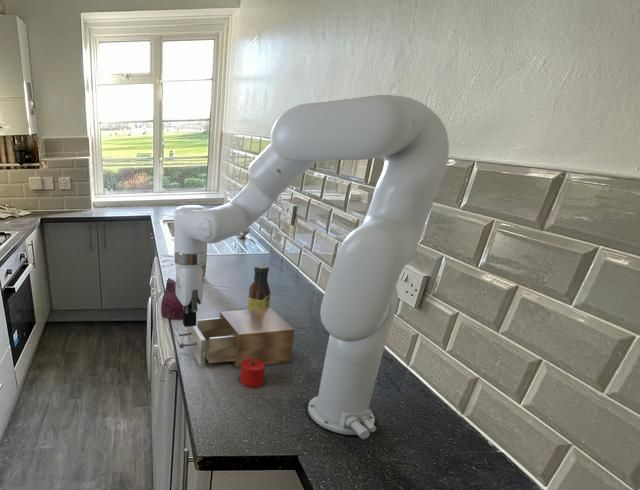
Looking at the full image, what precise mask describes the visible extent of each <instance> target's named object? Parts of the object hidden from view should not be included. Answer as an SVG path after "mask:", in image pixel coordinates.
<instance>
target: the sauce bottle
mask: <svg viewBox="0 0 640 490" xmlns="http://www.w3.org/2000/svg"><path fill="white" fill-rule="evenodd" d="M253 271H254V277H253V282H252V283H251V284H250V286H249V290H248V297H247V309H258V308H269V307H270V304H271V303H270V301H271V289H270V286H269V282H268V275H269V271H270V267H269V266H268V265H266V264H257V265H254V268H253Z"/></svg>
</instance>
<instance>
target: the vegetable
mask: <svg viewBox="0 0 640 490" xmlns="http://www.w3.org/2000/svg"><path fill="white" fill-rule="evenodd" d="M165 285H166V286H165V289H164V292H163V294H162V298H161V304H160V311H161V316H162V317H163V318H165V319H168V320H183V311H185V310H183V305H182V304H181V302H180V301H179V299H178V298H177V296H176V293H175V290H176V280H174V279H172V278H170V277H168V278H167V281H166V284H165Z"/></svg>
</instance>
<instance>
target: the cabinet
mask: <svg viewBox="0 0 640 490" xmlns="http://www.w3.org/2000/svg"><path fill="white" fill-rule="evenodd" d="M221 317H223V319H224V320H225V321H226V322H227V324H228V325H229V326H230V327H231V328H232V330H233V331H234V332H235V333H236V335H237V336H238V339H237V352H236V361H231V362H232V363H233V365H234V366H235V368H241V363H242V361H244V360H246V359H256V360H259V361H261V362H263V363H264V365H265V366H266V365H274V364H286V363H291V358H292V351H293V345H294V337H295V331H296V329H295V327H293V326H292V325H290V324H289V323H288V322H287V321H286V320H285V319H283V317H281V316H280V315H279V314H278V313H277V312H276V311H275V310H273V309H272V308H271V307H270V306H269V308H258V309H248V308H246V309H237V310H226V311H220V312H219V318H221Z"/></svg>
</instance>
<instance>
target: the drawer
mask: <svg viewBox="0 0 640 490" xmlns="http://www.w3.org/2000/svg"><path fill="white" fill-rule="evenodd" d="M181 337H187V343H185V342H183V340H182V338H181ZM173 338H174V339H175V342H176V344H177V345H178V347H179V349H184V348H185V347H189V349H190V350H191V352H192V354H193V356H194V358H195V360H196V362H197V364H198V365H199V367H200V368H202V367H206V361H207V362H208V364H217V363H226V362H232V361H236V352H237V339H238V336H237V335H236V333H235V332H234V331H233V330H232V328H231V327H230V326H229V325H228V324H227V322H226V321H225V320H224V319H223V317H221V318H220V317H211V318H201V319H200V318H199V319H196V326H190V327H187V332H180V333H179V332H177V331H175V332H173Z"/></svg>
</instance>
